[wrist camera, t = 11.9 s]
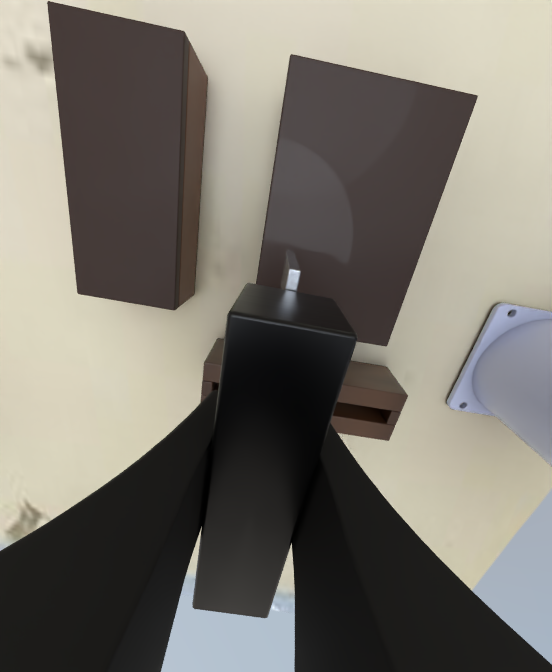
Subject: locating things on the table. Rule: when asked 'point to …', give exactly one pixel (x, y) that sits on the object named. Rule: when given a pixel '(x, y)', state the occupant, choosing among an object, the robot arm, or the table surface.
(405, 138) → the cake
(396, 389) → the knife block
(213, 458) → the bench scraper
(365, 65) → the table surface
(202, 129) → the brown rectangular block
